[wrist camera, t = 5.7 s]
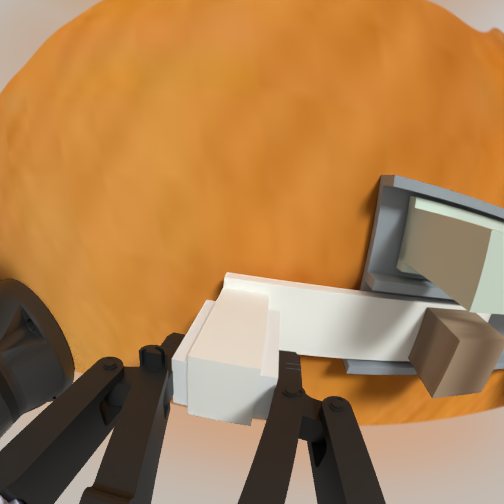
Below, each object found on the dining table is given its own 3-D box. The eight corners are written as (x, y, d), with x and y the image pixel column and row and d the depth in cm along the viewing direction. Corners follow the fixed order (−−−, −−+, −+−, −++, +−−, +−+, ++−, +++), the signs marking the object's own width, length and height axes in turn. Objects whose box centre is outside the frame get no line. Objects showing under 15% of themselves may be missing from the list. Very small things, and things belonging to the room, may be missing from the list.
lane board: (340, 354, 22) (346, 373, 19) (381, 175, 18) (395, 175, 16) (520, 353, 20) (532, 363, 18) (557, 234, 17) (573, 239, 14)
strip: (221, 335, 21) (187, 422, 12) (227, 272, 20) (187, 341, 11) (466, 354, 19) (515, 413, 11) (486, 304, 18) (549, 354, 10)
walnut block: (407, 358, 19) (431, 398, 14) (426, 307, 18) (460, 340, 13) (454, 357, 19) (481, 392, 14) (473, 310, 17) (507, 339, 13)
